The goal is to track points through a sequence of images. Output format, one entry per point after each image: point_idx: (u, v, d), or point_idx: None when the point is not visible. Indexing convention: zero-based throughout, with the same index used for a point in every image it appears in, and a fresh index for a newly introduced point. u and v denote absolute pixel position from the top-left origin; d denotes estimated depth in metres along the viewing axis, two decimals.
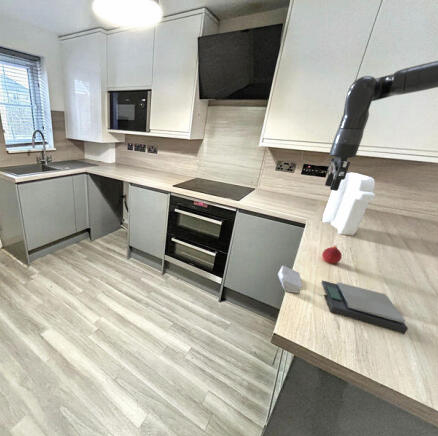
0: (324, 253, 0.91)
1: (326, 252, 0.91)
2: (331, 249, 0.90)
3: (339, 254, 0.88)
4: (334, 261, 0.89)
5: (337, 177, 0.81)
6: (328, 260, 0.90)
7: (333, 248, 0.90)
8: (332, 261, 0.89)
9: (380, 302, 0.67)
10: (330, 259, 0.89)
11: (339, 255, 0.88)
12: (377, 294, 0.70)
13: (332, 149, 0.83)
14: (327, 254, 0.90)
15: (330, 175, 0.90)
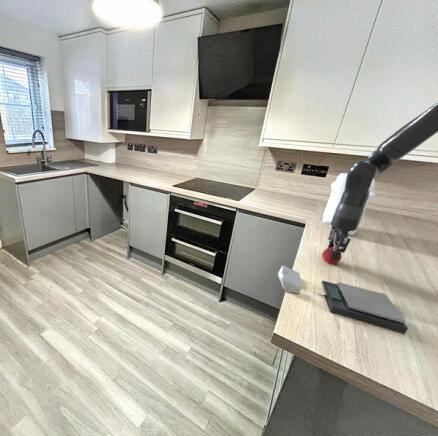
0: (324, 253, 0.91)
1: (326, 252, 0.90)
2: (331, 249, 0.90)
3: None
4: (334, 261, 0.89)
5: (337, 250, 0.85)
6: (328, 260, 0.90)
7: (333, 248, 0.89)
8: (332, 261, 0.89)
9: (380, 302, 0.67)
10: (330, 259, 0.89)
11: None
12: (377, 294, 0.70)
13: (334, 220, 0.86)
14: (327, 254, 0.90)
15: (332, 242, 0.92)
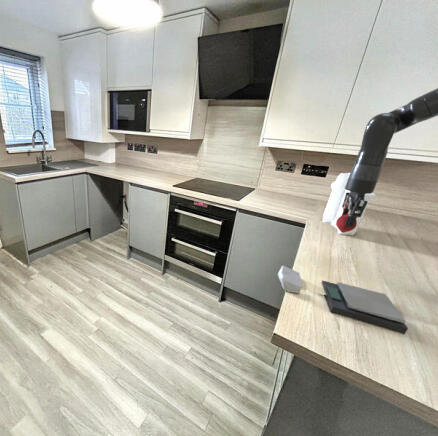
0: (338, 221, 0.86)
1: (340, 219, 0.85)
2: (346, 216, 0.84)
3: None
4: (349, 228, 0.83)
5: (353, 215, 0.79)
6: (342, 228, 0.84)
7: None
8: (347, 228, 0.84)
9: (380, 302, 0.67)
10: (345, 226, 0.84)
11: None
12: (377, 294, 0.70)
13: (348, 184, 0.81)
14: (341, 221, 0.84)
15: (346, 210, 0.87)
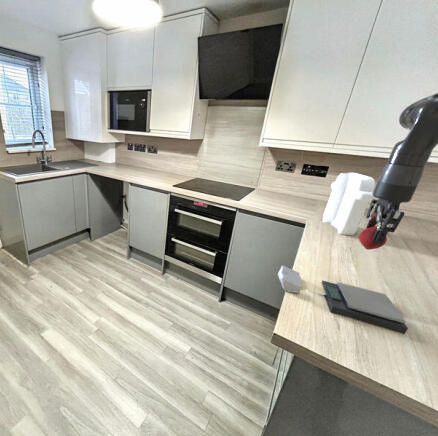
0: (362, 235, 0.69)
1: (365, 233, 0.68)
2: (372, 229, 0.67)
3: None
4: (377, 245, 0.66)
5: (384, 229, 0.62)
6: (368, 244, 0.67)
7: (375, 228, 0.67)
8: (374, 245, 0.67)
9: (380, 302, 0.67)
10: (371, 242, 0.67)
11: None
12: (377, 294, 0.70)
13: (378, 189, 0.64)
14: (367, 236, 0.67)
15: (372, 221, 0.70)
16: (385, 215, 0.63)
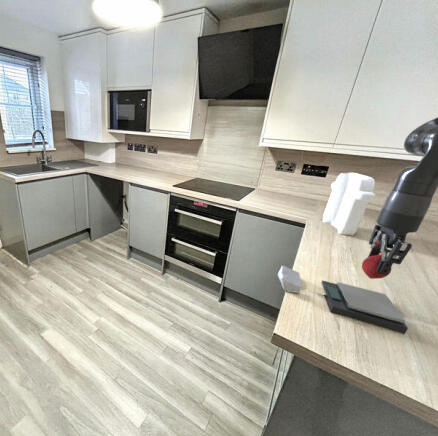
0: (365, 264, 0.65)
1: (369, 262, 0.64)
2: (376, 258, 0.63)
3: None
4: (381, 275, 0.62)
5: (389, 261, 0.58)
6: (372, 274, 0.63)
7: (379, 257, 0.63)
8: (378, 275, 0.63)
9: (380, 302, 0.67)
10: (375, 272, 0.63)
11: None
12: (377, 294, 0.70)
13: (383, 217, 0.60)
14: (370, 265, 0.63)
15: (376, 249, 0.66)
16: (390, 245, 0.59)
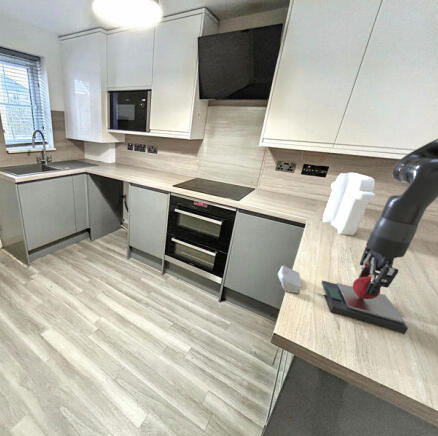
0: (356, 284, 0.67)
1: (359, 283, 0.66)
2: (366, 280, 0.66)
3: None
4: (370, 297, 0.65)
5: (377, 284, 0.61)
6: (362, 295, 0.66)
7: (369, 278, 0.65)
8: (368, 296, 0.65)
9: (380, 303, 0.67)
10: (365, 294, 0.65)
11: None
12: None
13: (371, 242, 0.62)
14: (360, 287, 0.66)
15: (366, 270, 0.68)
16: (379, 268, 0.62)
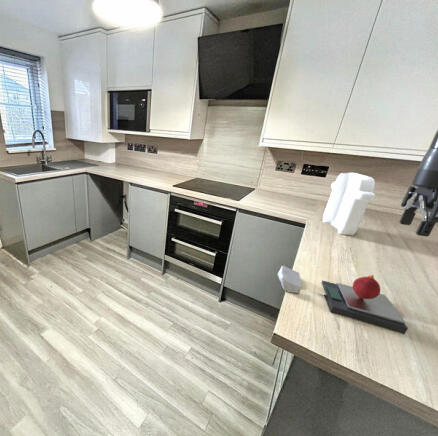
0: (356, 285, 0.67)
1: (359, 284, 0.66)
2: (366, 280, 0.66)
3: (378, 287, 0.64)
4: (370, 297, 0.65)
5: (433, 220, 0.55)
6: (362, 295, 0.66)
7: (369, 279, 0.65)
8: (368, 296, 0.65)
9: (380, 303, 0.67)
10: (365, 294, 0.65)
11: (378, 289, 0.64)
12: None
13: (420, 177, 0.58)
14: (360, 287, 0.66)
15: (409, 210, 0.65)
16: (428, 205, 0.58)
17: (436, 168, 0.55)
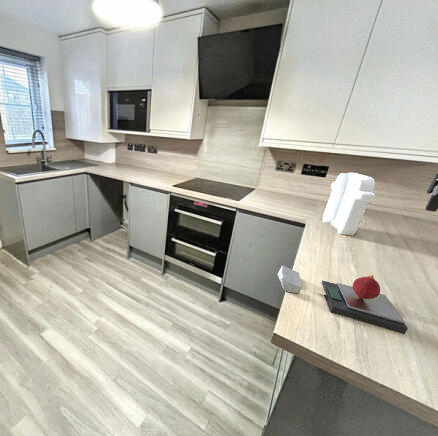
0: (356, 285, 0.67)
1: (359, 284, 0.66)
2: (366, 280, 0.66)
3: (378, 287, 0.64)
4: (370, 297, 0.65)
5: None
6: (362, 295, 0.66)
7: (369, 279, 0.65)
8: (368, 296, 0.65)
9: (380, 303, 0.67)
10: (365, 294, 0.65)
11: (378, 289, 0.64)
12: None
13: None
14: (360, 287, 0.66)
15: (435, 196, 0.67)
16: None
17: None
